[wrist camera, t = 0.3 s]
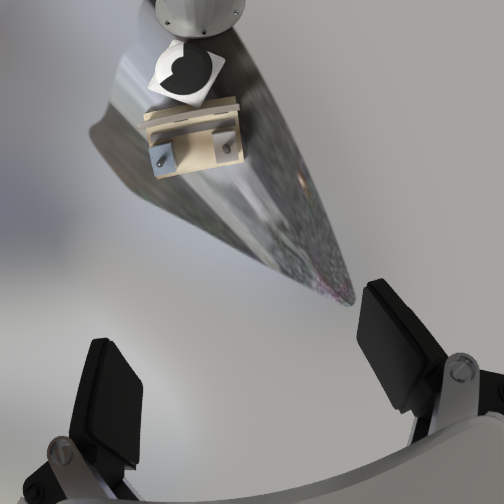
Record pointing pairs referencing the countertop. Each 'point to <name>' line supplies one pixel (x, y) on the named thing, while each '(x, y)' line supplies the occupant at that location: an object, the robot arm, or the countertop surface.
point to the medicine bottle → (186, 72)
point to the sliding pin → (163, 158)
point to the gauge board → (198, 134)
